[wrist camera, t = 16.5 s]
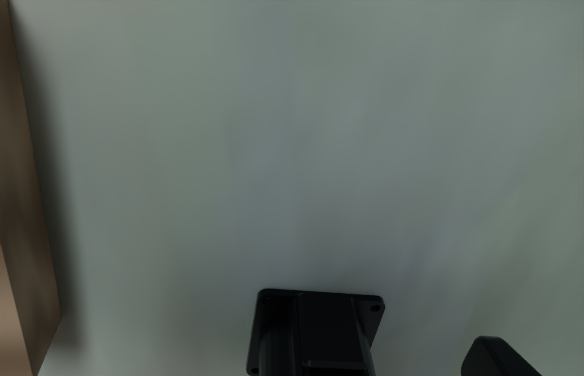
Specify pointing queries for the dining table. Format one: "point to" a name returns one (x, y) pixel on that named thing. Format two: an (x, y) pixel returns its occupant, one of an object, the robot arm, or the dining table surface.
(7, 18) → the scraper bar
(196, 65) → the dining table surface
